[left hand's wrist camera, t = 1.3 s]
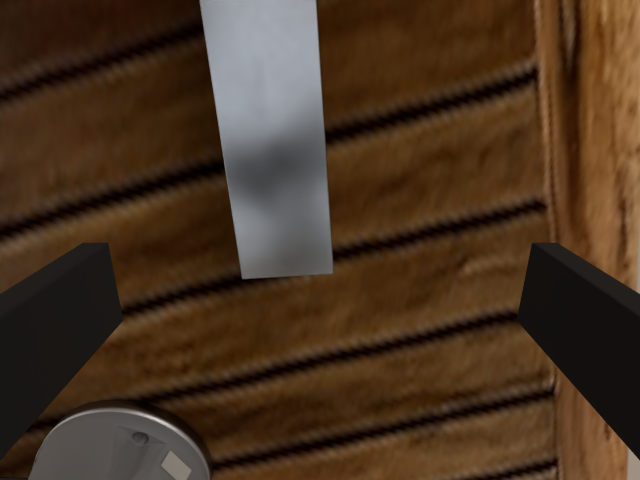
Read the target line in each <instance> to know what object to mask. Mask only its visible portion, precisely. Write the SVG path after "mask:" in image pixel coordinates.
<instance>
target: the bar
mask: <svg viewBox="0 0 640 480" xmlns="http://www.w3.org/2000/svg"><path fill="white" fill-rule="evenodd" d="M199 2H200V8H201V15H202V21H203V28H204V34H205V41H206V47H207V54H208V60H209V67H210V73H211V80H212V86H213V93H214V99H215V106H216V113H217V119H218V126H219V132H220V139H221V145H222V152H223V158H224V165H225V171H226V178H227V184H228V191H229V197H230V204H231V210H232V217H233V223H234V230H235V236H236V243H237V249H238V256H239V262H240V269H241V276H242V279H252V278H269V277H286V276H303V275H320V274H333V273H334V270H333V251H332V233H331V216H330V200H329V184H328V168H327V152H326V136H325V120H324V104H323V88H322V72H321V56H320V40H319V24H318V8H317V0H199Z"/></svg>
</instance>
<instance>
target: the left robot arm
mask: <svg viewBox="0 0 640 480" xmlns="http://www.w3.org/2000/svg"><path fill="white" fill-rule="evenodd" d="M122 321H123V317H122V312H121V307H120V302H119V297H118V292H117V286H116V281H115V276H114V271H113V266H112V261H111V256H110V251H109V246H108V243H82V244H80V245H79V246H77V247H76V248H74V249H72V250H71V251H69V252H68V253H66V254H64V255H63V256H61V257H59V258H58V259H56V260H55V261H53V262H51V263H50V264H48V265H47V266H45V267H43V268H42V269H40V270H38V271H37V272H35V273H34V274H32V275H30V276H29V277H27V278H26V279H24V280H22V281H21V282H19V283H17V284H16V285H14V286H13V287H11V288H9V289H8V290H6V291H5V292H3V293H1V294H0V460H1V459H2V458H3V457H4V455H5V454H6V453H7V452H8V451H9V450H10V449H11V447H12V446H13V445H14V444H15V443H16V442H17V441H18V439H19V438H20V437H21V436H22V435H23V434H24V433H25V432H26V430H27V429H28V428H29V427H30V426H31V425H32V424H33V422H34V421H35V420H36V419H37V418H38V417H39V416H40V414H41V413H42V412H43V411H44V410H45V409H46V408H47V406H48V405H49V404H50V403H51V402H52V401H53V400H54V399H55V397H56V396H57V395H58V394H59V393H60V392H61V391H62V389H63V388H64V387H65V386H66V385H67V384H68V383H69V381H70V380H71V379H72V378H73V377H74V376H75V375H76V373H77V372H78V371H79V370H80V369H81V368H82V367H83V366H84V364H85V363H86V362H87V361H88V360H89V359H90V358H91V356H92V355H93V354H94V353H95V352H96V351H97V350H98V348H99V347H100V346H101V345H102V344H103V343H104V342H105V340H106V339H107V338H108V337H109V336H110V335H111V334H112V332H113V331H114V330H115V329H116V328H117V327H118V326H119V325H120V323H121V322H122ZM517 321H518V322H519V323H520V325H521V326H522V327H523V328H524V329H525V330H526V331H527V332H528V334H529V335H530V336H531V337H532V338H533V339H534V340H535V342H536V343H537V344H538V345H539V346H540V347H541V348H542V350H543V351H544V352H545V353H546V354H547V355H548V356H549V358H550V359H551V360H552V361H553V362H554V363H555V364H556V366H557V367H558V368H559V369H560V370H561V371H562V372H563V373H564V375H565V376H566V377H567V378H568V379H569V380H570V381H571V383H572V384H573V385H574V386H575V387H576V388H577V389H578V391H579V392H580V393H581V394H582V395H583V396H584V397H585V399H586V400H587V401H588V402H589V403H590V404H591V405H592V406H593V408H594V409H595V410H596V411H597V412H598V413H599V414H600V416H601V417H602V418H603V419H604V420H605V421H606V422H607V424H608V425H609V426H610V427H611V428H612V429H613V430H614V432H615V433H616V434H617V435H618V436H619V437H620V438H621V439H622V441H623V442H624V443H625V444H626V445H627V446H628V447H629V449H630V450H631V451H632V452H633V453H634V454H635V455H636V456H637V458H638V459H639V460H640V294H639V293H637V292H635V291H634V290H632V289H631V288H629V287H627V286H626V285H624V284H623V283H621V282H619V281H618V280H616V279H614V278H613V277H611V276H610V275H608V274H606V273H605V272H603V271H602V270H600V269H598V268H597V267H595V266H593V265H592V264H590V263H589V262H587V261H585V260H584V259H582V258H581V257H579V256H577V255H576V254H574V253H572V252H571V251H569V250H568V249H566V248H564V247H563V246H561V245H560V244H558V243H532V246H531V251H530V256H529V261H528V266H527V271H526V276H525V281H524V286H523V292H522V297H521V302H520V307H519V312H518V317H517ZM212 477H213V465H212V460H211V456H210V454H209V451H208V449H207V447H206V445H205V444H204V442H203V441H202V439H201V438H200V437H199V436H198V434H197V433H196V432H195V431H194V430H193V429H192V428H191V427H189V426H188V425H187V424H186V423H185V422H183V421H182V420H180V419H179V418H177V417H176V416H174V415H172V414H170V413H168V412H166V411H164V410H162V409H159V408H157V407H154V406H151V405H148V404H144V403H140V402H134V401H127V400H104V401H98V402H93V403H89V404H86V405H83V406H81V407H78V408H76V409H74V410H73V411H71V412H69V413H68V414H67V415H65V416H64V417H63V418H62V419H61V420H60V421H59V422H58V423H57V424H56V426H55V427H54V428H53V429H52V431H51V432H50V433H49V434H48V436H47V437H46V438H45V440H44V442H43V443H42V445H41V447H40V448H39V450H38V452H37V454H36V457H35V461H34V464H33V468H32V471H31V473H30V476H29V478H6V477H0V480H212Z"/></svg>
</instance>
